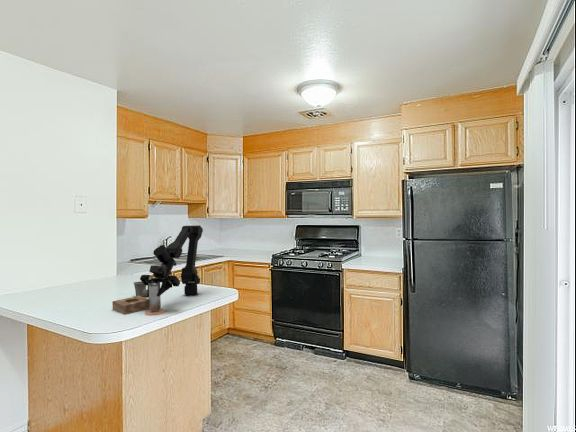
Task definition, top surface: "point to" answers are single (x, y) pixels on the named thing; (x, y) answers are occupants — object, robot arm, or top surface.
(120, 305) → the housing
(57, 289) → the top surface
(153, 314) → the mat
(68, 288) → the top surface
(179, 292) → the top surface
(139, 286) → the pipe
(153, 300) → the shiny metal cylinder
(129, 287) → the top surface
